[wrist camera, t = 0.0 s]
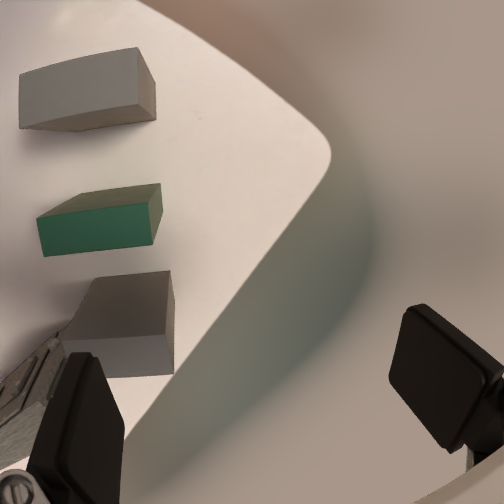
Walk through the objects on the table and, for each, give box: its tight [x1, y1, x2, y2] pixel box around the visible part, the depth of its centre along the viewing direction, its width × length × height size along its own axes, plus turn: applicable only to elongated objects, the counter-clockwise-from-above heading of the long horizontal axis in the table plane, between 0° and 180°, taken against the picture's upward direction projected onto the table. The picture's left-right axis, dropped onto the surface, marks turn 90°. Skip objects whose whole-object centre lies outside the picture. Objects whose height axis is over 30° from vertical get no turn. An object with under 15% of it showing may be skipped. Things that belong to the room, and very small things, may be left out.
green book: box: [36, 183, 163, 257], centre depth 20 cm, size 2×7×9 cm, turn 92°
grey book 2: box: [61, 271, 175, 378], centre depth 23 cm, size 3×7×10 cm, turn 92°
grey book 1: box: [19, 47, 156, 132], centre depth 17 cm, size 3×7×10 cm, turn 92°
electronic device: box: [0, 325, 69, 470], centre depth 18 cm, size 17×7×20 cm, turn 124°
